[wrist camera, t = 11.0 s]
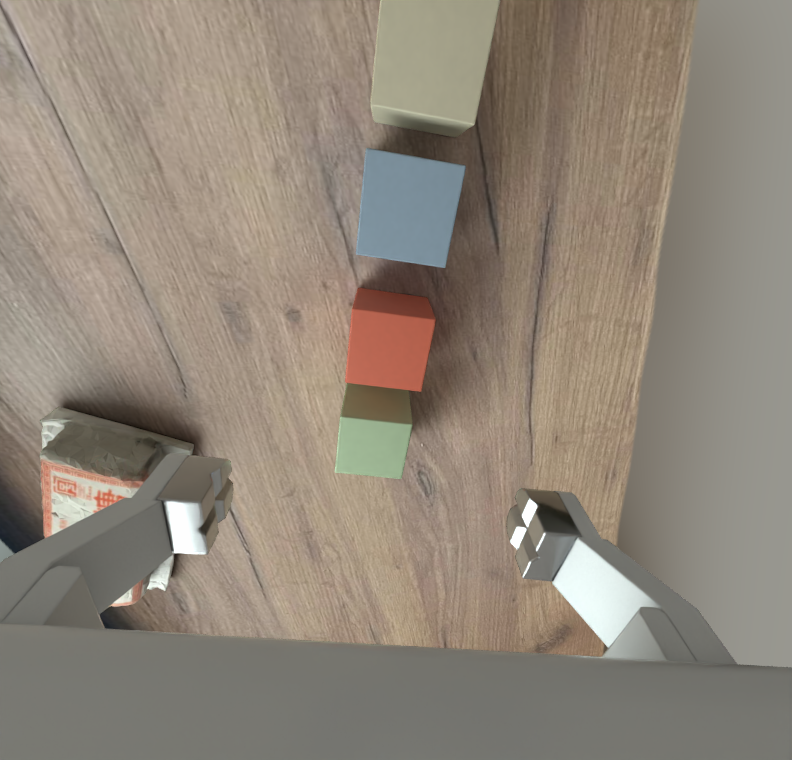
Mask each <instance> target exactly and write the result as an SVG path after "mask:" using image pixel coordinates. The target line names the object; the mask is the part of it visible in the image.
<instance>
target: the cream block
mask: <svg viewBox="0 0 792 760" xmlns="http://www.w3.org/2000/svg"><path fill="white" fill-rule="evenodd" d="M499 5H500V0H380V8H379V19H378V29H377V39H376V50H375V60H374V70H373V81H372V91H371V102H370V104H371V110H372V115H373V121H374V122H375V123H381V124H386V125H391V126H397V127H402V128H408V129H413V130H418V131H424V132H429V133H434V134H440V135H445V136H451V137H458V136H459V135H461V134H462V133H463V132H465V131H466V130H468V129H469V128H470V127H472V126H473V125H474V124H475V121H476V117H477V112H478V107H479V102H480V97H481V92H482V88H483V83H484V78H485V73H486V68H487V63H488V58H489V54H490V49H491V44H492V39H493V34H494V29H495V25H496V20H497V15H498V10H499Z"/></svg>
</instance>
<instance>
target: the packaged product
mask: <svg viewBox="0 0 792 760" xmlns="http://www.w3.org/2000/svg"><path fill="white" fill-rule="evenodd" d="M40 422H41V423H42V425H43V426H44V427H43V430H42V433H41V435H42V439H43V443H42V449H43V450H42V451H41V453H40V458H41V466H42V467H41V474H40V476H41V482H40V485H41V487H42V490H41V491H42V504H41V505H42V507H43V513H44V516H43V521H44V522H43V525H44V536H45V538H47V537H49V536H51V535H53V534H55V533H57V532H59V531H61V530H63V529H65V528H67V527H69V526H71V525H72V524H74V523H76V522H78V521H80V520H82V519H84V518H86V517H88V516H90V515H92V514H94V513H96V512H98V511H100V510H102V509H104V508H106V507H108V506H110V505H112V504H114V503H116V502H118V501H119V500H121V499H123V498H132V497H133V495H134V494H135V493H136V492H137V491H138V489H139V488H140V487H141V486H142V484H143V483H144V482H145V481H146V479H147V478H148V477H149V476H150V474H151V473H152V472H153V471H154V470H155V468H156V467H157V466H158V465H159V463H160V462H161V461H162V460H163V458H164V457H165V456H166V455H168V454H170V453H177V454H185V455H192V453H193V448H194V444H191V443H188V442H184V441H181V440H177V439H174V438H170V437H167V436H163V435H159V434H156V433H152V432H149V431H145V430H142V429H138V428H135V427H131V426H128V425H124V424H121V423H117V422H113V421H110V420H106V419H102V418H99V417H95V416H91V415H88V414H84V413H80V412H77V411H73V410H69V409H65V408H62V407H58V408H56V409H55V410H53V411H52V412H51V413H49V414H48V415H47V416H45V417H44V418H42V419H41V420H40ZM173 562H174V553H172V556H170V557H169V558H168V559H167V560H165V561H164V562H163V563H162V564H161V565H159V566H158V567H157V568H156V569H154V570H153V571H152V572H151V573H150V574H148V575H147V576H146V577H145V578H143V579H142V580H141V581H140V582H138V583H137V584H136V585H135V586H134V587H132V588H131V589H130V590H129V591H127V592H126V593H125V594H124V595H123V596H121V597H120V598H119V599H118V600H116V601H115V602H114V603H113V604H112V605H110V606H113V607H118V606H124V605H131V604H134V603H136V602H137V601H139V600H140V598H141V597H142V596H143V595H144V594H146V591H147V589H154V588H156V587H158V588H160V589H162V590H164V591H166V589H167V586H168V584H169V581H170V578H171V572H172V567H173ZM110 606H109V607H110Z"/></svg>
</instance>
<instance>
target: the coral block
mask: <svg viewBox="0 0 792 760" xmlns="http://www.w3.org/2000/svg"><path fill="white" fill-rule="evenodd" d="M435 323H436V319H435V316H434V313H433V311H432V308H431V305H430V303H429V300H428V298H427V297H420V296H413V295H406V294H399V293H392V292H385V291H378V290H371V289H364V288H358V290H357V293H356V297H355V301H354V304H353V308H352V316H351V326H350V336H349V347H348V357H347V367H346V378H345V382H346V383H352V384H361V385H369V386H378V387H386V388H394V389H403V390H411V391H419V392H420V391H421V390H422V386H423V381H424V376H425V371H426V366H427V361H428V357H429V352H430V347H431V342H432V337H433V332H434V328H435Z"/></svg>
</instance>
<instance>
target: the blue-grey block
mask: <svg viewBox="0 0 792 760" xmlns="http://www.w3.org/2000/svg"><path fill="white" fill-rule="evenodd" d="M465 170H466V166H465V165H460V164H455V163H449V162H443V161H438V160H432V159H427V158H421V157H415V156H410V155H404V154H399V153H393V152H387V151H382V150H376V149H371V148H366V153H365V164H364V174H363V185H362V195H361V205H360V216H359V226H358V236H357V247H356V254H357V255H363V256H369V257H376V258H383V259H389V260H396V261H402V262H409V263H415V264H422V265H429V266H435V267H442V268H445V267H446V262H447V257H448V252H449V247H450V243H451V238H452V233H453V228H454V223H455V218H456V214H457V209H458V204H459V199H460V194H461V189H462V184H463V180H464V175H465Z"/></svg>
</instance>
